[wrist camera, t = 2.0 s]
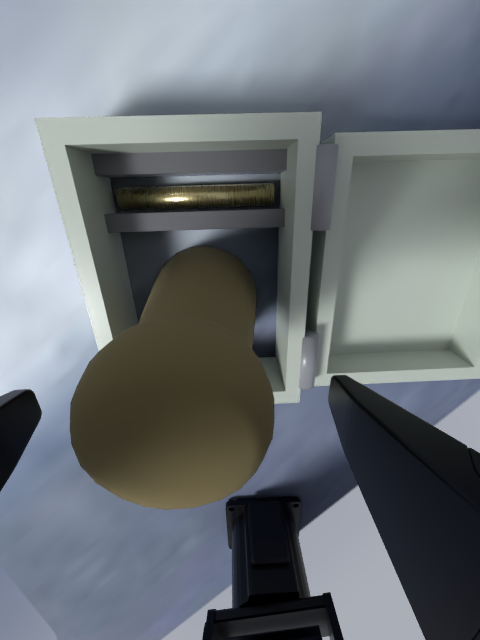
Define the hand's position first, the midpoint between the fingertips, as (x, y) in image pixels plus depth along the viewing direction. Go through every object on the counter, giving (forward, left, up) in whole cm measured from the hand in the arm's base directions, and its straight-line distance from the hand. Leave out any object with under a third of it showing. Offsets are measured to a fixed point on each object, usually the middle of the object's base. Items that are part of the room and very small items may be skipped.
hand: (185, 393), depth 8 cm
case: (+2, 0, -8) cm, 9 cm away
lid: (+2, -11, -8) cm, 14 cm away
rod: (+6, 0, -9) cm, 10 cm away
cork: (0, 0, -9) cm, 9 cm away
